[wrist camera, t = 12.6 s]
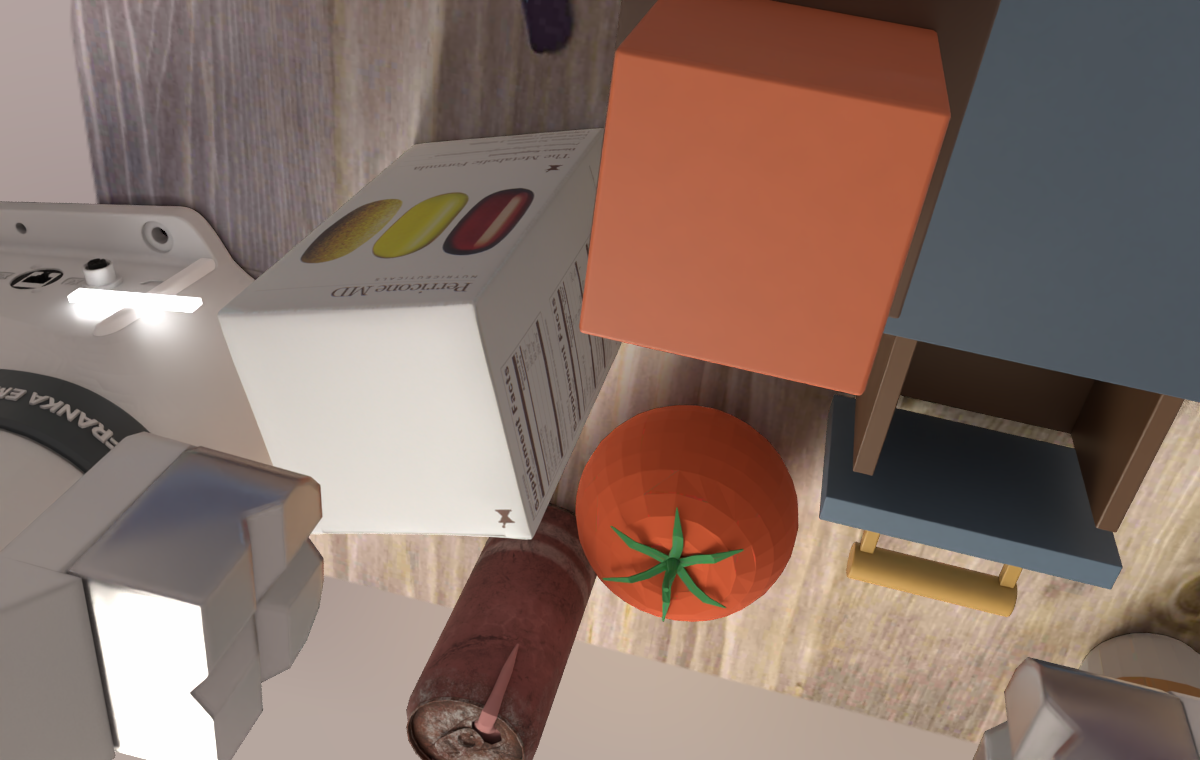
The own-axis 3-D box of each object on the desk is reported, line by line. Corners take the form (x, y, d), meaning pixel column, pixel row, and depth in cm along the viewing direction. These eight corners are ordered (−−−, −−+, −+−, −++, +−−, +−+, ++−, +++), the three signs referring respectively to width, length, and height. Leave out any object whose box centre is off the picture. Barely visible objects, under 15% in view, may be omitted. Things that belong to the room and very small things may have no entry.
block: (633, 223, 20) (577, 334, 16) (671, -20, 18) (615, 46, 14) (867, 273, 19) (863, 399, 16) (938, 30, 17) (953, 112, 13)
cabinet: (1175, 286, 43) (1240, 412, 35) (866, 223, 45) (862, 329, 37) (1357, -99, 35) (1495, -49, 28) (975, -160, 37) (1000, -130, 29)
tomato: (832, 516, 53) (822, 662, 45) (645, 551, 57) (603, 691, 49) (765, 342, 49) (740, 468, 41) (568, 393, 53) (509, 517, 44)
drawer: (1042, 552, 50) (1066, 674, 44) (804, 495, 52) (792, 605, 45) (1211, 193, 40) (1273, 282, 34) (910, 134, 42) (914, 209, 35)
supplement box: (610, 121, 45) (485, 297, 31) (641, 315, 50) (544, 546, 36) (404, 142, 48) (204, 313, 34) (451, 324, 52) (292, 542, 38)
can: (619, 521, 56) (549, 728, 45) (583, 601, 60) (510, 811, 48) (512, 478, 56) (415, 672, 45) (483, 560, 60) (386, 760, 48)
